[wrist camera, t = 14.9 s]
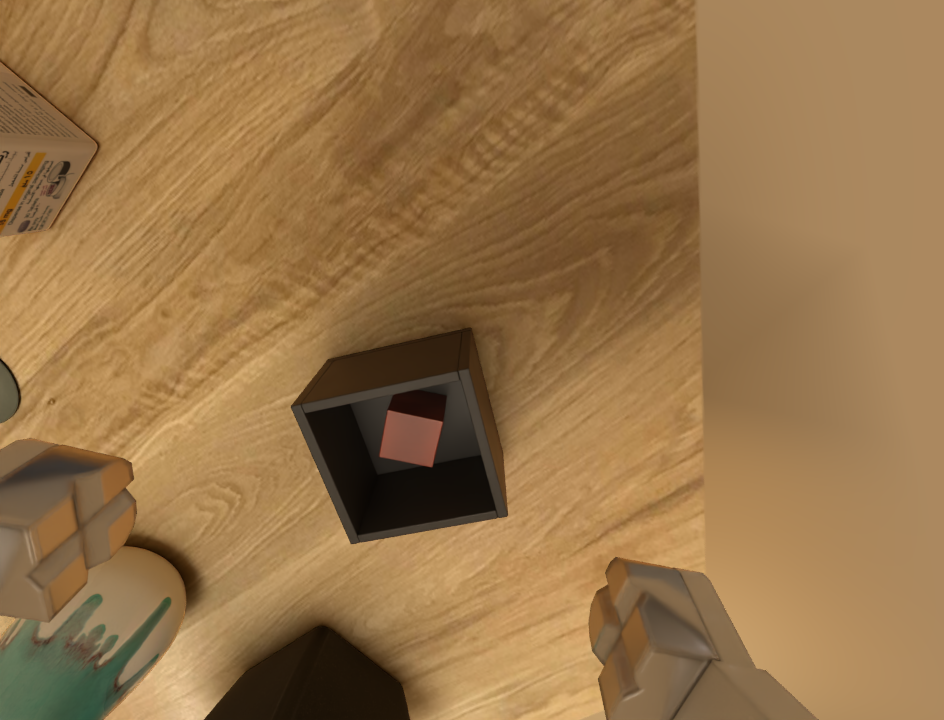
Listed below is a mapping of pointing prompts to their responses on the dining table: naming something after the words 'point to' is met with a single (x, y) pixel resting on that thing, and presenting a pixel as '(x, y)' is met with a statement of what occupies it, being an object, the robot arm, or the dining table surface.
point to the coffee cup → (7, 393)
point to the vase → (93, 642)
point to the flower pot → (314, 685)
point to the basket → (395, 482)
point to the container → (35, 157)
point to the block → (413, 427)
